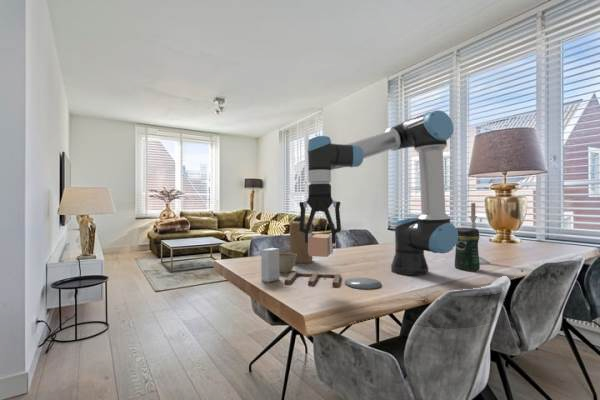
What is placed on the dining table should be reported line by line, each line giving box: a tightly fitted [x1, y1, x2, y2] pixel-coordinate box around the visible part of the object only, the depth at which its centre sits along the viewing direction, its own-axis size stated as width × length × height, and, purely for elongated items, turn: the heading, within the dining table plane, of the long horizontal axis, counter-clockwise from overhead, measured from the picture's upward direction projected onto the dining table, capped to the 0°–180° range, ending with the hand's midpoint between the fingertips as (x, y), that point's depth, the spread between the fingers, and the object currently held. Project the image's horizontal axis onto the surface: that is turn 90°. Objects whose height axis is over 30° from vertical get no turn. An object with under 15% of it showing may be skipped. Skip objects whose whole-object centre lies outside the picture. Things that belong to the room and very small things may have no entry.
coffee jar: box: [454, 227, 481, 272], centre depth 136 cm, size 10×8×19 cm
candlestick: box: [469, 202, 489, 265], centre depth 152 cm, size 13×13×30 cm
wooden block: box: [289, 220, 313, 264], centre depth 152 cm, size 10×10×20 cm
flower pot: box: [279, 252, 297, 273], centre depth 132 cm, size 10×10×7 cm
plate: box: [344, 277, 382, 290], centre depth 111 cm, size 13×13×1 cm
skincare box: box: [260, 247, 280, 283], centre depth 117 cm, size 6×4×12 cm
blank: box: [309, 233, 331, 258], centre depth 102 cm, size 6×10×6 cm, turn 163°
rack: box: [284, 271, 342, 288], centre depth 116 cm, size 20×14×2 cm
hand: (320, 253), depth 100 cm, fingers closed on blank, 6 cm apart
